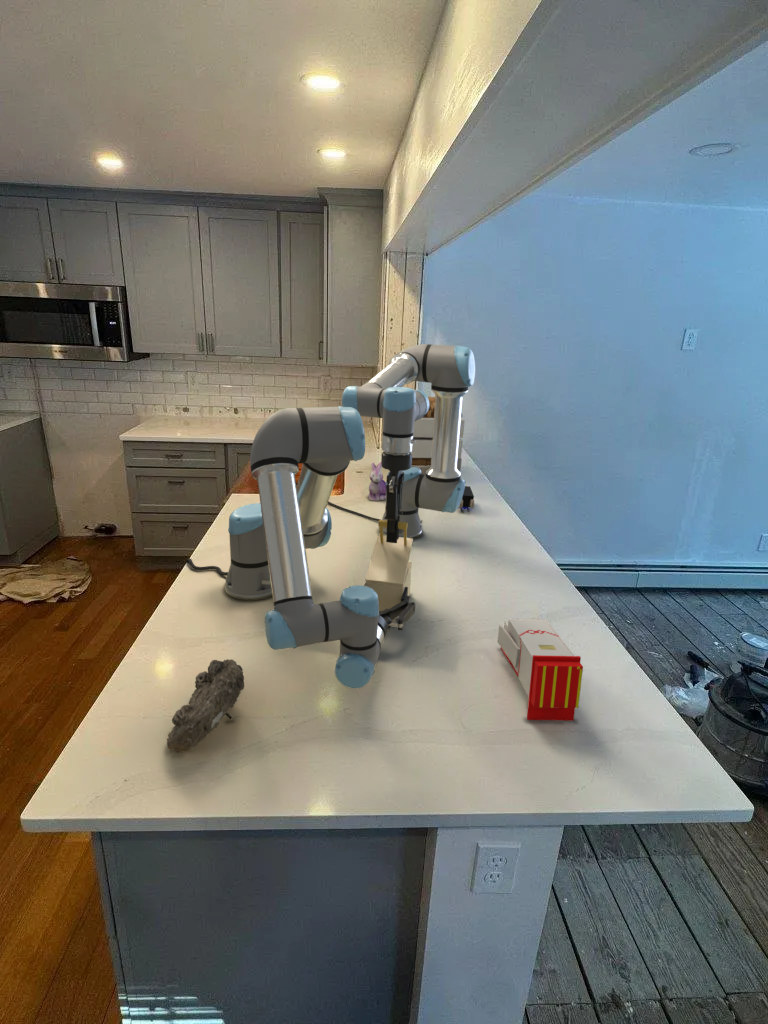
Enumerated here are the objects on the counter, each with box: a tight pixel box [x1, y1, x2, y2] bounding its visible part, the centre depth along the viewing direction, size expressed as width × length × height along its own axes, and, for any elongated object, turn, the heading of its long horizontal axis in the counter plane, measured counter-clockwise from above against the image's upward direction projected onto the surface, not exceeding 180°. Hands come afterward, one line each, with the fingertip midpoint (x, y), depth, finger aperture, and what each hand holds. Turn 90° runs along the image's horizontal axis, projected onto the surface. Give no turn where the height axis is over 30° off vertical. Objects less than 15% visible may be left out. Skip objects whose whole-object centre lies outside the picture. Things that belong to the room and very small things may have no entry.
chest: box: [364, 561, 413, 621], centre depth 150 cm, size 15×10×10 cm, turn 169°
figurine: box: [367, 461, 387, 502], centre depth 234 cm, size 9×10×15 cm
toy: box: [497, 618, 584, 722], centre depth 122 cm, size 12×13×30 cm
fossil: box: [166, 658, 245, 754], centre depth 106 cm, size 22×10×15 cm
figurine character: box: [458, 485, 475, 513], centre depth 228 cm, size 7×8×15 cm
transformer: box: [410, 396, 465, 474], centre depth 268 cm, size 34×33×41 cm
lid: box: [365, 519, 414, 587], centre depth 144 cm, size 16×10×9 cm, turn 169°
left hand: (386, 589), depth 146 cm, fingers closed on chest, 10 cm apart
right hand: (392, 540), depth 147 cm, fingers closed on lid, 2 cm apart
